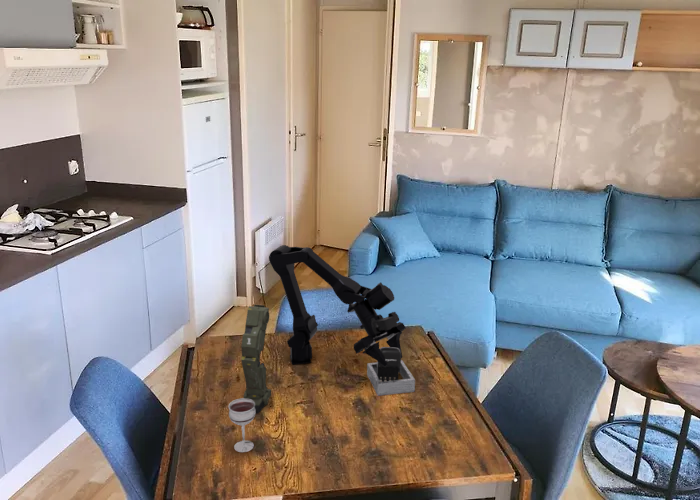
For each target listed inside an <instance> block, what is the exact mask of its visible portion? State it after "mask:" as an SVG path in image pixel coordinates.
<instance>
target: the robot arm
mask: <svg viewBox="0 0 700 500" xmlns="http://www.w3.org/2000/svg"><path fill="white" fill-rule="evenodd" d="M268 260H269V263H270V265H271V268H272V269H273V271H274V272H275V273H276V274H277V275H278V276H279V278H280V280H281V281H280V282H281V284H282V286H283V290H284V293H285V295H286V298H287V303H288V305H289V308H290V311H291V314H292V318H293V319H292V333H293V334H292V335H291V336H290V337H289V339H287V341H286V343H287V346H288V347H289V349H290V354H289V359H290V362H291V365H301V364H311V363H312V358H313V347H312V344H311V342H310V340H311V339H312V338H313V337H314V336H315V335H316V333H317V332H318V326H319V324H318V322H317V321H316V315H315V314H312V315H310V313H309V312H308V311H307V307H306V305H305V303H304V299H303V296H302V292H301V289H300V285H299V283H298V279H297V277H296V273H295V264H298V263H301V264H302V263H303V264H305V266H307V268H309V269H310V270H312V272H314V273H315V274H316V275H317V276H318V277H320V278H321V279H322V280H323V281H324V282H326V283H327V284H328V285H329V286H330V287H331V289H332V290H333V293H334V294H335V295H336V297H337V298H338V299H339V301H341V302H342V303H343V304H345V305H348V307H347V311H346V312H347V313H355V314H356V316H357V318H358V321H359V322H360V324H361V325H360V326H359V328H360V329H361V330H365V332H366V334H367V335H366V336H365V337H362V338H360V339H359V340H358V341H356V342H355V343H354V344H353V350H354V352H355V354H359V353H361V352H362V354H366V355H368V356H369V357H371V358H372V359H374V360H375V361H376V362H377V361H378V362H380V363H381V364H382V365H384V366H386V365H387V362H386V360H385V358H384V356H383V354H382V352H381V351H380V342H379V341H381V340H383V339H387V340H386V341H385V342H386V344H387V345H388V347H396V348H398V349H399V350H400V352H401V359H402V358H403V352H402V349H401V348H402V347H401V341H400V339H401V335H402V334H403V331H405V329H406V328H407V327H406V326H405V324H404V322H401V321H400V317H399V315H398V313H397V312H396V311H392V312H389V313H388V316H387V317H383V315H382V314H378V313H377V311H376V310H379V311H380V310H381V309H383V308H384V307H386V306H387V305H389V304H390V303H392V302H393V301H395V295H394V293H393V291H392V289H391V288H390V287H388V286H387V285H384V284H383V283H382V282H379V283H377V285H375V286H374V287H373V288H369V287H367V286H363V285H361V284H359V282H357V281H356V280H354V279H352V278H351V277H348V276H345V275H343V274H341V273H340V272H338V271H337V270H336V269H335V268H334V267H332V266H331V264H329V263H328V262H326V260H324V259H323V258H322V257H320V256H319V255H318V254H317V253H316V252H315V251H314V250H313V249H312V248H311V247H309V246H307V247H303V246H302V247H301V246H300V247H299V246H288V245H286V244H283V245H279V246H278V247H277V248H275V249H273V250H272V251H271V252H270V253H269V255H268Z"/></svg>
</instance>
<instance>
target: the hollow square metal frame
mask: <svg viewBox="0 0 700 500" xmlns="http://www.w3.org/2000/svg"><path fill="white" fill-rule="evenodd" d="M366 364H367V365H366V376H367V377H368V379H369V381H370V383H371V385H372V387H373V390H374V391H375V393H376V395H377V396H389V395H396V394H406V393H413V392H415V391H416V389H415V388H416V387H415V386H416V379H415V377H414V376H413V374H412V373H411V371H410V370H409V369H408V367H407V365H406V364H405V363H404V360H402V359H401V365H400V367H399V374H400V376H401V378H402V379H398V380H393V381H384V382H380V380H379V378H378V376H377V361H376V362H368V363H366Z"/></svg>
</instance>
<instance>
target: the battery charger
mask: <svg viewBox="0 0 700 500" xmlns="http://www.w3.org/2000/svg"><path fill="white" fill-rule="evenodd" d="M379 349H380V351H381V352H382V354H383V356H384V358H385V360H386V362H387V365H386V366H384V365H382V364H381V363H380V362H378V361H377V360H376V362H377V376H378V378H379V380H380V382H384V381H393V380H399V374H400V373H399V367H400V365H401V360H402V358H401V352H402V351H401V352H400V350H399V349H398V348H396V347H390V346H382V347H379Z"/></svg>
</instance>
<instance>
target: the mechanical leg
mask: <svg viewBox="0 0 700 500" xmlns="http://www.w3.org/2000/svg"><path fill="white" fill-rule="evenodd" d="M269 322H270V308H269V307H267V306H266V307H265V304H264V305H263V304H254V305H253V306H252V305H249V306H248V308H247V311H246V318H245V326H244V333H243V334H242V338H241V346H240V347H241V349H240V350H241V359H240V361H241V365H242V371H243V376H244V380H245V381H244V382H245V390H244V392H243V395H242V398H247V399H251V400H253V401H254V402H255V406H254V407H255V409H256V415H257V414H259V413H261V411H262V410H263V408H265V406H268V404H269V399H270V397H271V396H272V389H270V388H269V389H268V387H267V384H266V382H267V368H266V366H265V363H264V362H261V359H260V358H261V353H262V351H264V346H265V339H266V332H267V327H268V324H269Z"/></svg>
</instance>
